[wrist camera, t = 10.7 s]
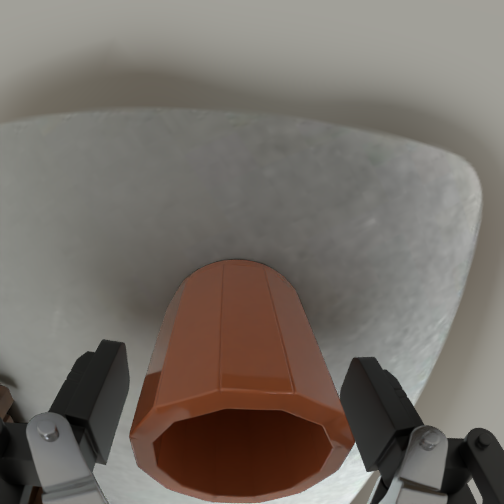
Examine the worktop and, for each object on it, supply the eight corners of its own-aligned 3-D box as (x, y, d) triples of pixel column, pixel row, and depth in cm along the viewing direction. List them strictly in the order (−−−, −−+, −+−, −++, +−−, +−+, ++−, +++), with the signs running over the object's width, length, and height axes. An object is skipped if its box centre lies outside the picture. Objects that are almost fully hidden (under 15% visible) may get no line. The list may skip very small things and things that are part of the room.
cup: (170, 252, 12) (114, 376, 5) (313, 265, 13) (385, 387, 6) (170, 364, 14) (145, 495, 7) (288, 372, 14) (318, 499, 8)
